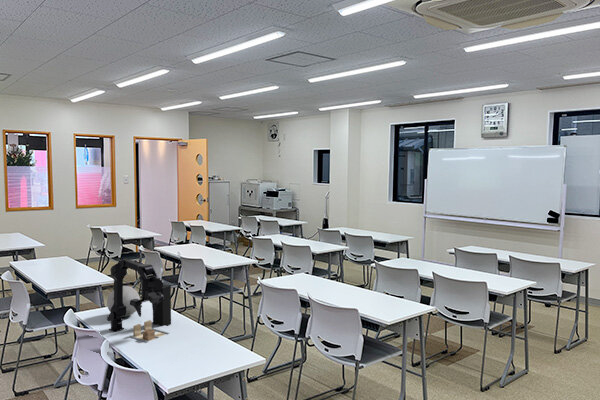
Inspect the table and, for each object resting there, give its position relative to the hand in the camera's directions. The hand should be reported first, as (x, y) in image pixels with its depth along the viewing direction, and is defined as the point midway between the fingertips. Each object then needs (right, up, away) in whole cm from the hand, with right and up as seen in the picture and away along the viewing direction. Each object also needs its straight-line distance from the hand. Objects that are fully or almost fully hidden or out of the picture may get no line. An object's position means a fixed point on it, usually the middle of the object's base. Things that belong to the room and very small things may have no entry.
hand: (147, 314), depth 257 cm
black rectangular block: (+1, -13, +24) cm, 27 cm away
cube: (+2, -13, -2) cm, 13 cm away
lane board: (0, -14, +3) cm, 15 cm away
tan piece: (-2, -14, 0) cm, 15 cm away
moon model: (-29, -12, +40) cm, 51 cm away
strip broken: (+2, -14, +6) cm, 16 cm away
